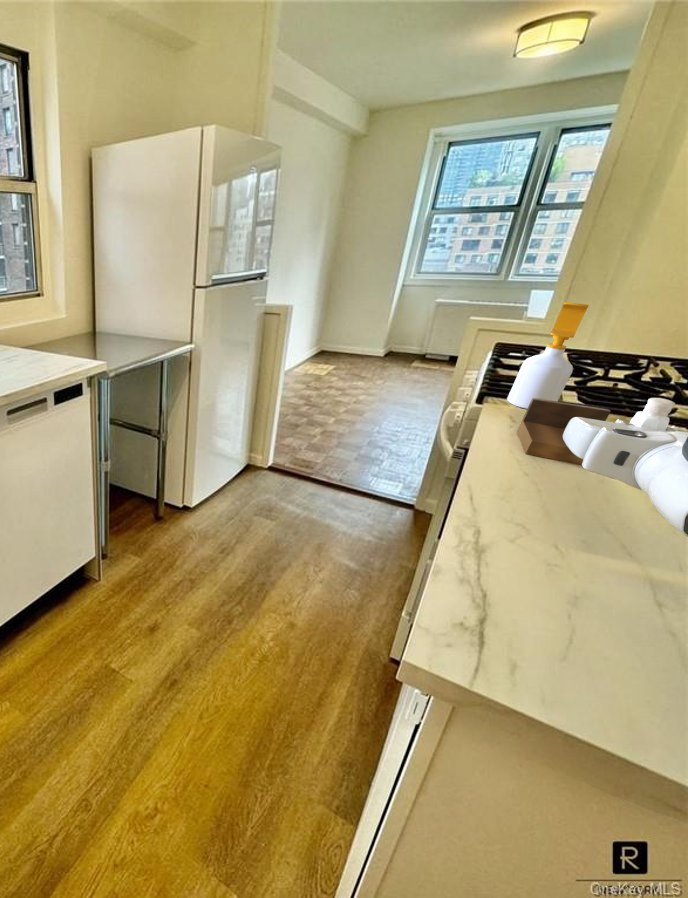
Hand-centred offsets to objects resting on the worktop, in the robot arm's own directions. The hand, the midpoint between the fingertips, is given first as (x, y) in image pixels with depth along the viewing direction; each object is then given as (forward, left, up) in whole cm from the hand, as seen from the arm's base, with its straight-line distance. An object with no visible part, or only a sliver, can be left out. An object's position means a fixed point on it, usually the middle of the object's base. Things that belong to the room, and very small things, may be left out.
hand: (642, 428), depth 76 cm
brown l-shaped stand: (+2, -20, -13) cm, 24 cm away
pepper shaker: (0, +1, -6) cm, 6 cm away
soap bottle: (+3, -47, -14) cm, 49 cm away
